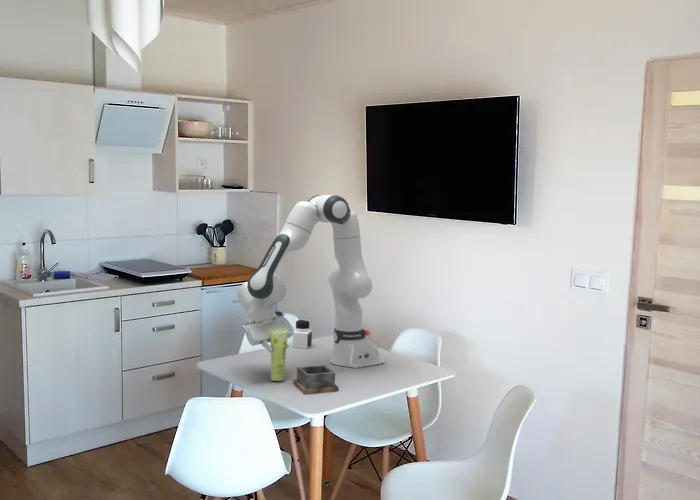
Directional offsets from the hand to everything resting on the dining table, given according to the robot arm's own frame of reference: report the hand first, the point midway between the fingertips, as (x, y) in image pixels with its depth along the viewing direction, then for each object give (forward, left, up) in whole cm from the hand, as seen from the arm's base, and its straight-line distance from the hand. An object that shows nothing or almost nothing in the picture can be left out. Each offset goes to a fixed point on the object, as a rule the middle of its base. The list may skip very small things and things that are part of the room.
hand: (279, 349), depth 255 cm
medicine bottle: (-25, -47, -12) cm, 54 cm away
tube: (+1, 0, -12) cm, 12 cm away
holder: (-11, +11, -12) cm, 20 cm away
